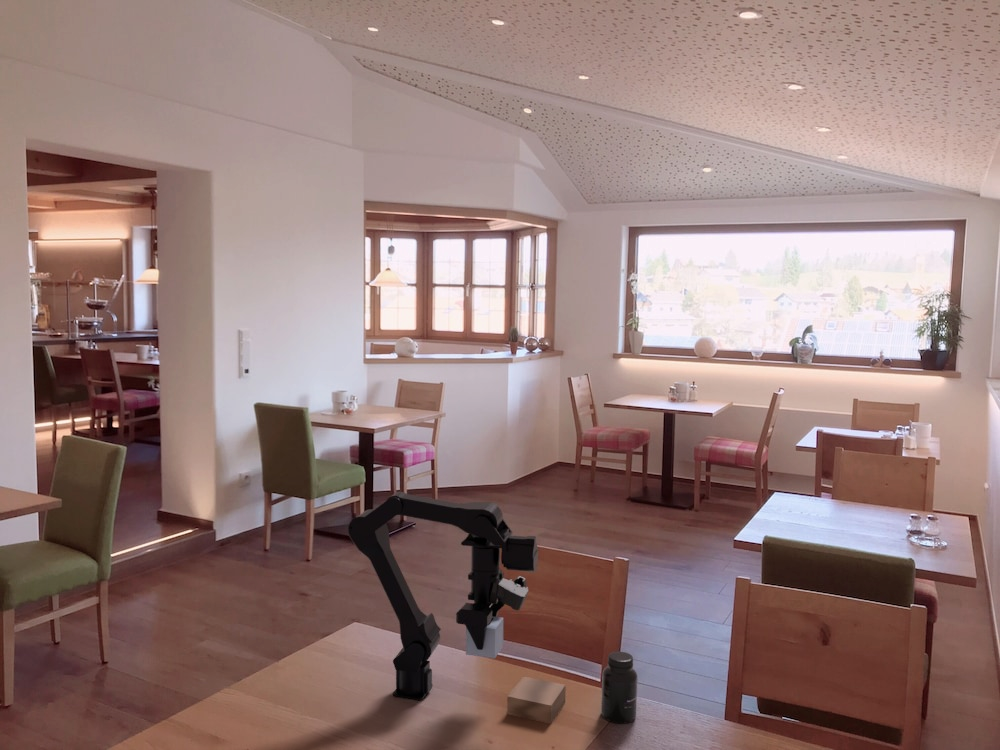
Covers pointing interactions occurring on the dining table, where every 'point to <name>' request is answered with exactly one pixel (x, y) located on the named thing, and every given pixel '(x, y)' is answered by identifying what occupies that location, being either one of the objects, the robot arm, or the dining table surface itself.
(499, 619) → the slate cube
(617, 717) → the supplement bottle
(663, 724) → the dining table surface
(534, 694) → the tan flat square block
